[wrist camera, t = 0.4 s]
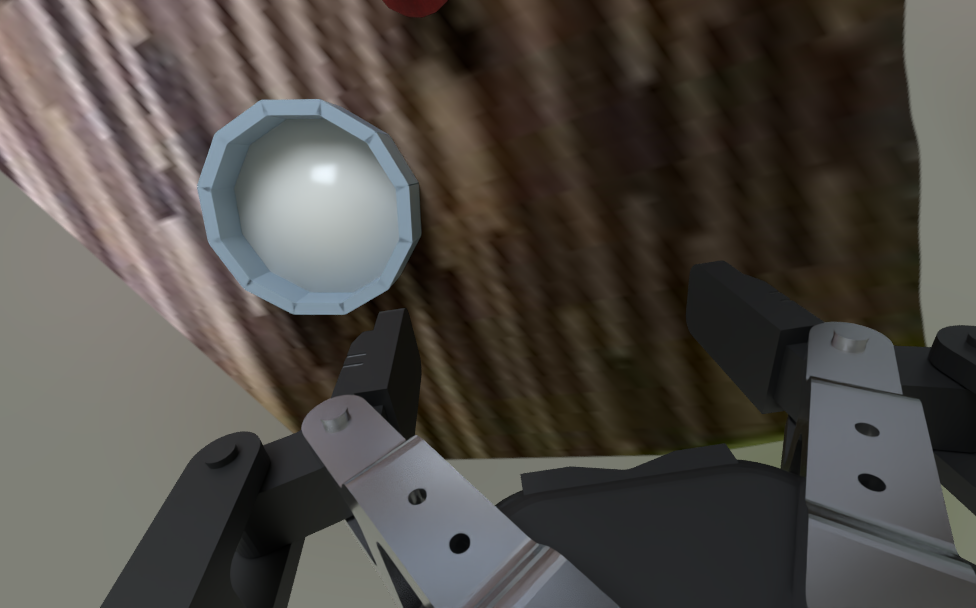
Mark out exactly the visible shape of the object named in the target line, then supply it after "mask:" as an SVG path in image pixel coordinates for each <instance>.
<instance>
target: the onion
mask: <svg viewBox="0 0 976 608" xmlns="http://www.w3.org/2000/svg"><path fill="white" fill-rule="evenodd" d="M382 1H383V2H384V3H385V4H386V5H387V6H388V8H390V9H392V10H394V11H396V12H398V13H400V14H403V15H405V16H407V17H421V18H422V17H425V16H427V15H430V14H433V13H435V12H437V11H438V10H439V9H440V8H441V7H442V6H443V5H444V4H445V3H446V2H447V1H448V0H382Z"/></svg>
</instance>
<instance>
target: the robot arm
mask: <svg viewBox="0 0 976 608" xmlns="http://www.w3.org/2000/svg"><path fill="white" fill-rule="evenodd" d="M686 320H687V325H688V328H689V331H690V333H691V334H692V336H693V337H694V338H695V339H696V340H697V341H698V342H699V344H700V345H701V346H702V347H703V348H704V349H705V350H706V351H707V353H708V354H709V355H710V356H711V357H712V358H713V359H714V360H715V362H716V363H717V364H718V365H719V366H720V367H721V368H722V369H723V370H724V372H725V373H726V374H727V375H728V376H729V377H730V378H731V379H732V381H733V382H734V383H735V384H736V385H737V386H738V387H739V388H740V390H741V391H742V392H743V393H744V394H745V395H746V396H747V397H748V399H749V400H750V401H751V402H752V403H753V404H754V405H755V406H756V407H757V409H758V410H759V411H760V412H761V413H762V414H766V413H772V412H779V411H786V412H787V413H788V417H787V421H786V425H785V433H784V442H783V451H782V460H781V469H779V468H776V467H773V466H770V465H766V464H761V463H758V462H752V461H746V460H737V459H736V458H735V457H734V455H733V454H732V452H731V451H730V450H729V448H728V447H727V446H726V444H718V445H712V446H705V447H698V448H692V449H685V450H678V451H673V452H671V453H669V454H666V455H664V456H661V457H659V458H656V459H654V460H651V461H649V462H647V463H644V464H641V465H639V466H636V467H634V468H631V469H627V470H617V469H602V468H601V469H600V468H585V467H564V468H558V469H551V470H544V471H538V472H530V473H524V474H521V480H522V487H523V490H522V491H519V492H517V493H515V494H513V495H511V496H509V497H507V498H505V499H503V500H502V501H501V502H499V503H498V504H496V505H495V506H494V505H493V504H492V503H491V502H490V501H489V500H488V499H487V498H486V497H485V496H484V495H482V494H481V493H480V492H479V491H478V490H477V489H476V488H475V487H474V486H473V485H472V484H470V483H469V482H468V481H467V480H466V479H465V478H464V477H463V476H462V475H461V474H460V473H459V472H458V471H456V470H455V469H454V468H453V467H452V466H451V465H450V464H449V463H448V462H447V461H446V460H445V459H444V458H442V457H441V456H440V455H439V454H438V453H437V452H436V451H435V450H434V449H433V448H432V447H431V446H429V445H428V444H427V443H426V442H425V441H424V440H423V439H422V438H420V437H419V436H417V435H415V428H416V419H417V410H418V401H419V392H420V383H421V360H420V355H419V351H418V347H417V343H416V339H415V335H414V331H413V328H412V324H411V320H410V316H409V313H408V310H407V309H406V308H402V309H396V310H389V311H383V312H379V314H378V317H377V320H376V323H375V327H374V330H372V331H366V332H362V333H361V334H360V335H359V336H358V337H357V339H356V340H355V341H354V342H353V343H352V344H351V346H350V349H349V352H348V354H347V358H346V360H345V362H344V365H343V366H344V368H342V370H341V373H340V375H339V378H338V381H337V383H336V386H335V388H334V391H333V394H332V396H331V399H328V400H326V401H324V402H322V403H321V404H319V405H318V406H316V407H315V408H314V409H313V410H311V411H310V412H309V414H308V415H307V416H306V417H305V419H304V421H303V423H302V430H301V431H299V432H297V433H295V434H292V435H290V436H287V437H284V438H282V439H279V440H276V441H274V442H271V443H268V444H266V445H262V442H261V440H260V439H259V438H258V436H257V435H256V434H254V433H252V432H236V433H232V434H229V435H226V436H224V437H221V438H219V439H217V440H215V441H213V442H211V443H210V444H208V445H207V446H205V447H204V448H203V449H201V450H200V451H199V452H198V453H197V454H196V455H195V456H194V457H193V458H192V459H191V460H190V462H189V463H188V464H187V466H186V468H185V470H184V471H183V473H182V474H181V476H180V478H179V479H178V481H177V482H176V484H175V486H174V487H173V489H172V491H171V492H170V494H169V496H168V497H167V499H166V501H165V502H164V504H163V505H162V507H161V509H160V510H159V512H158V514H157V515H156V517H155V518H154V520H153V522H152V523H151V525H150V527H149V528H148V530H147V532H146V533H145V535H144V536H143V539H142V540H141V541H140V543H139V545H138V546H137V548H136V549H135V551H134V553H133V555H132V556H131V558H130V559H129V561H128V563H127V564H126V566H125V568H124V569H123V571H122V572H121V574H120V576H119V577H118V579H117V581H116V582H115V584H114V586H113V587H112V589H111V590H110V592H109V594H108V595H107V597H106V599H105V600H104V602H103V604H102V605H101V607H100V608H287V606H288V602H289V598H290V594H291V590H292V586H293V583H294V579H295V575H296V571H297V567H298V563H299V559H300V556H301V552H302V548H303V544H304V540H305V537H306V536H308V535H311V534H313V533H315V532H317V531H319V530H322V529H324V528H326V527H329V526H331V525H333V524H335V523H337V522H340V521H342V520H343V521H344V523H345V524H346V526H347V527H348V529H349V530H350V532H351V533H352V535H353V537H354V538H355V540H356V541H357V543H358V544H359V546H360V547H361V549H362V550H363V552H364V553H365V555H366V556H367V558H368V559H369V561H370V562H371V564H372V565H373V567H374V569H375V570H376V572H377V573H378V575H379V576H380V578H381V579H382V581H383V583H384V584H385V586H386V588H387V590H388V592H389V594H390V596H391V597H392V599H393V601H394V603H395V605H396V606H397V608H976V565H975V564H973V563H971V562H969V561H967V560H965V559H963V558H961V557H960V556H959V554H958V553H957V551H956V548H955V545H954V540H953V536H952V532H951V527H950V523H949V519H948V515H947V510H946V506H945V501H944V497H943V493H942V489H941V484H942V485H943V486H944V487H945V488H946V489H947V490H948V491H949V492H950V493H951V494H953V495H954V496H955V497H956V498H957V499H958V500H959V501H960V502H961V503H962V504H964V505H965V506H966V507H967V508H968V509H969V510H970V511H971V512H972V513H973V514H974V515H975V516H976V326H965V325H961V326H960V325H959V326H949V327H946V328H942V329H941V330H939V332H938V333H937V335H936V337H935V340H934V342H933V345H932V347H909V346H893V344H892V342H891V341H890V340H889V339H888V338H887V337H886V336H884V335H883V334H881V333H879V332H877V331H875V330H873V329H870V328H867V327H864V326H861V325H857V324H852V323H845V322H826V323H825V322H823V321H822V320H820V319H819V318H817V317H816V316H814V315H813V314H811V313H810V312H808V311H807V310H806V309H804V308H803V307H801V306H800V305H798V304H797V303H795V302H794V301H790V299H789V298H788V297H787V296H785V295H784V294H782V293H778V290H776V289H775V288H773V287H772V286H770V285H769V284H768V283H766V282H765V281H762V280H759V279H756V278H753V277H751V276H748V275H744V274H742V273H741V272H740V271H738V270H737V269H735V268H734V267H732V266H731V265H730V264H728V263H727V262H725V261H716V262H709V263H702V264H696V265H694V266H693V267H692V268H691V271H690V278H689V288H688V299H687V309H686ZM940 483H941V484H940Z"/></svg>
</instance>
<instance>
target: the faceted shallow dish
mask: <svg viewBox="0 0 976 608" xmlns="http://www.w3.org/2000/svg"><path fill="white" fill-rule="evenodd" d="M417 183H418V181H417V179H416V178H415V176H414V174H413V173H412V171H411V169H410V168H409V166H408V165H407V163H406V161H405V160H404V158H403V156H402V155H401V153H400V151H399V150H398V148H397V146H396V145H395V143H394V142H393V140H392V138H391V137H390V136H389V134H387V133H385V132H383V131H382V130H380V129H378V128H377V127H375V126H373V125H372V124H370V123H368V122H366V121H365V120H363V119H361V118H360V117H358V116H356V115H355V114H353V113H351V112H349V111H348V110H346V109H344V108H343V107H341V106H338V105H335V104H332V103H329V102H327V101H324V100H321V99H308V100H260V101H259V102H257V103H256V104H255V105H253V106H252V107H250V108H249V109H248V110H246V111H245V112H244V113H242V114H241V115H239V116H238V117H237V118H235V119H234V120H233V121H231V122H230V123H228V124H227V125H226V126H224V127H223V128H221V129H220V130H219V131H217V132H216V134H215V135H214V138H213V141H212V144H211V147H210V150H209V152H208V155H207V158H206V161H205V164H204V167H203V170H202V173H201V176H200V179H199V182H198V185H197V186H198V187H197V189H198V194H199V199H200V204H201V209H202V214H203V219H204V224H205V228H206V233H207V238H208V243H209V245H210V246H211V247H212V248H213V250H214V251H215V252H216V254H217V255H218V256H219V257H220V259H221V260H222V261H223V263H224V264H225V265H226V267H227V268H228V269H229V270H230V272H231V273H232V274H233V276H234V277H235V278H236V279H237V281H238V282H239V283H240V285H241V286H242V287H243V288H245V290H247V291H249V292H251V293H253V294H254V295H256V296H258V297H260V298H262V299H264V300H266V301H268V302H270V303H272V304H274V305H276V306H278V307H280V308H282V309H284V310H286V311H288V312H289V313H291V314H304V315H345V314H347V313H349V312H351V311H352V310H354V309H356V308H357V307H359V306H361V305H363V304H364V303H366V302H368V301H369V300H371V299H373V298H375V297H376V296H378V295H380V294H381V293H383V292H385V291H387V290H388V289H389V288H390V287H391V286H392V285H393V284H394V283H395V281H396V280H397V279H398V278H399V277H400V275H401V273H402V271H403V270H404V268H405V266H406V264H407V262H408V260H409V258H410V256H411V254H412V252H413V250H414V248H415V247H416V245H417V243H418V241H419V239H420V237H421V216H420V197H419V184H417Z"/></svg>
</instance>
